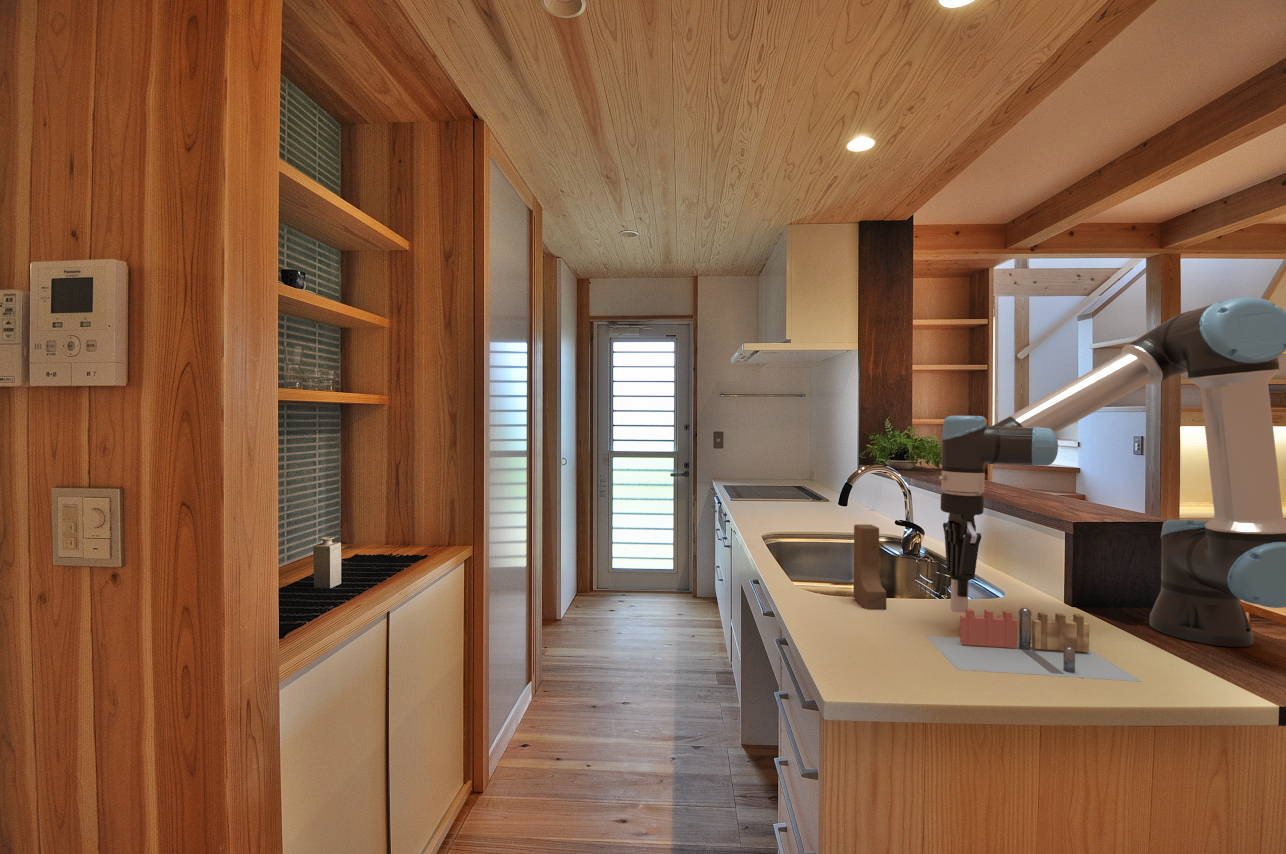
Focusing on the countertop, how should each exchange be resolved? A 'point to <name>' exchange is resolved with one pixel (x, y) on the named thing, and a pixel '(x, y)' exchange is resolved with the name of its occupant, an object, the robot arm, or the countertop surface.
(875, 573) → the wooden block
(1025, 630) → the post
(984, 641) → the fence panel
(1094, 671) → the card
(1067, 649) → the peg
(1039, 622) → the fence fixed
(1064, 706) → the countertop surface
